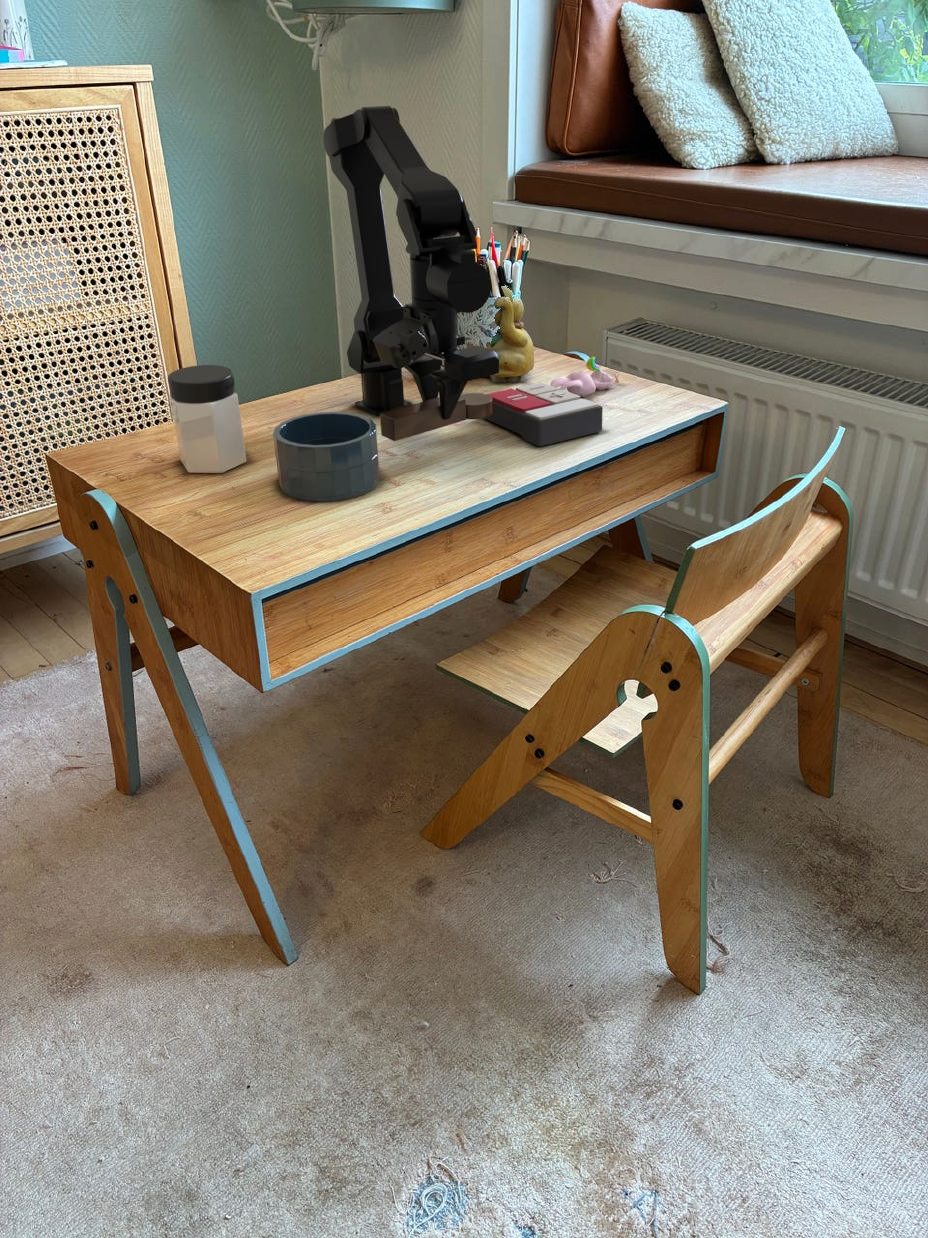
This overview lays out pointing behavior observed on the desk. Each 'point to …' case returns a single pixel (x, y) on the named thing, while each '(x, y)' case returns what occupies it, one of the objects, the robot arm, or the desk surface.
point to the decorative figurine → (511, 340)
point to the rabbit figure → (586, 380)
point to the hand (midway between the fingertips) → (438, 415)
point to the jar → (207, 418)
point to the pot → (327, 456)
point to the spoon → (432, 416)
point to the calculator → (545, 413)
